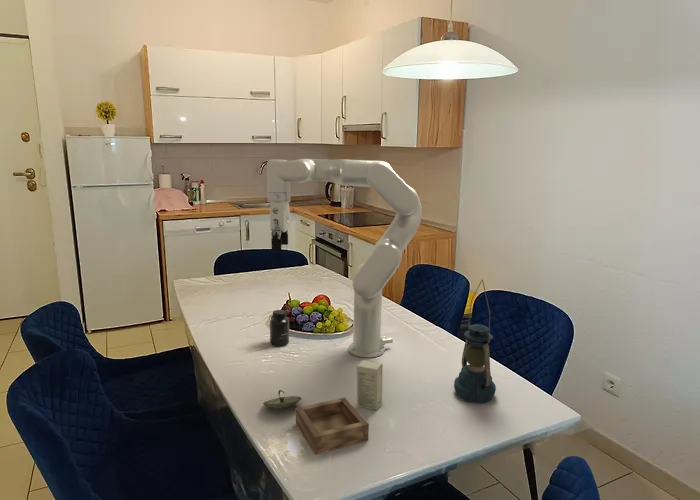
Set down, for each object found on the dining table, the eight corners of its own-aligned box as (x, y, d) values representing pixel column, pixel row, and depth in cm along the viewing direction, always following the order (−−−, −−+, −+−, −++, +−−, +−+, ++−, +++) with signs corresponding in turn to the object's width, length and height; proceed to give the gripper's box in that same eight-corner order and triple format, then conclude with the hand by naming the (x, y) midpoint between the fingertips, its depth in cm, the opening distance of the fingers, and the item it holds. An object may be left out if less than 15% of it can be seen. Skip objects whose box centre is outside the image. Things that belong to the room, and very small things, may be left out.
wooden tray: (344, 412, 136) (344, 397, 135) (368, 440, 124) (368, 423, 123) (295, 424, 130) (295, 408, 129) (315, 454, 118) (315, 437, 117)
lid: (268, 421, 132) (267, 403, 130) (259, 403, 140) (258, 386, 139) (306, 413, 136) (306, 396, 135) (295, 396, 145) (295, 380, 143)
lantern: (505, 403, 142) (516, 285, 135) (468, 409, 139) (477, 288, 131) (479, 380, 156) (487, 271, 148) (444, 385, 152) (451, 274, 145)
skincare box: (382, 403, 141) (384, 363, 138) (376, 411, 137) (378, 369, 135) (361, 398, 144) (362, 359, 141) (355, 405, 140) (356, 365, 137)
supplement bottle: (285, 348, 177) (285, 315, 175) (267, 346, 179) (266, 314, 176) (291, 340, 184) (291, 309, 181) (274, 338, 185) (273, 307, 183)
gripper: (284, 200, 158) (285, 253, 162) (295, 194, 175) (296, 242, 179) (260, 200, 159) (262, 252, 163) (274, 194, 176) (275, 242, 180)
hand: (280, 247), depth 171 cm, fingers open, 9 cm apart
